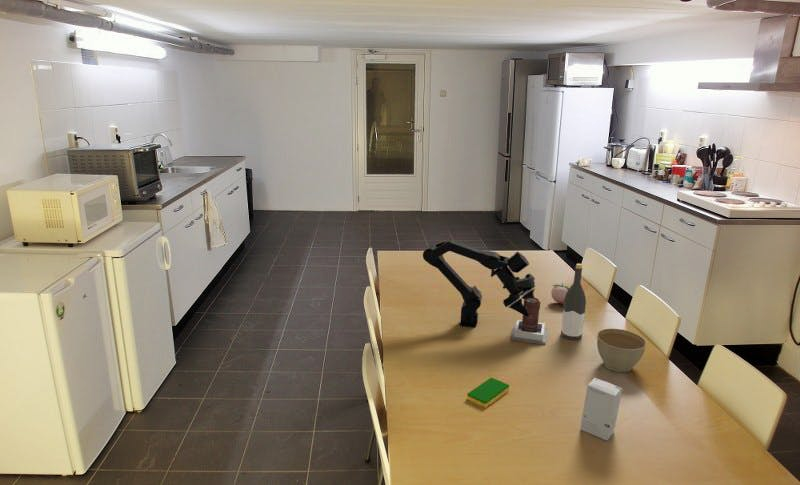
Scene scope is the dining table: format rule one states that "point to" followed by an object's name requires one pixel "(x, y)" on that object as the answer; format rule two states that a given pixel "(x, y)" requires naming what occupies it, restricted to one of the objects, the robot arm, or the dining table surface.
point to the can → (531, 315)
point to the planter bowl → (620, 349)
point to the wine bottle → (574, 308)
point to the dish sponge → (488, 392)
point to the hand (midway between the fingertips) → (532, 312)
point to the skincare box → (601, 408)
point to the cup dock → (529, 334)
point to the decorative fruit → (559, 292)
